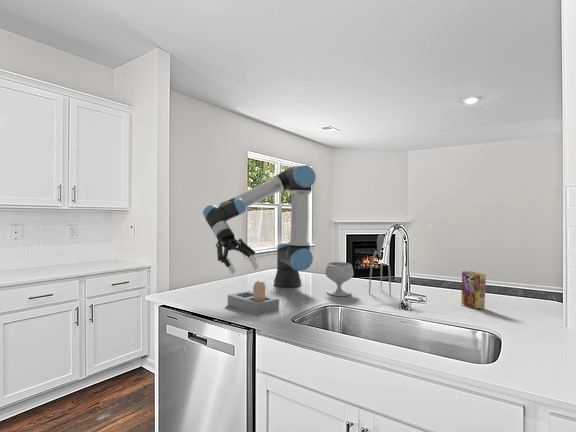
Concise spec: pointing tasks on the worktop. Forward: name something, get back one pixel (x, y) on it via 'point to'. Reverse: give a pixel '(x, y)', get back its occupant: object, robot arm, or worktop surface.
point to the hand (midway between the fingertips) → (245, 269)
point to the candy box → (473, 289)
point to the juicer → (379, 246)
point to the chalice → (339, 276)
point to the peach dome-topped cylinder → (259, 291)
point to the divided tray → (253, 303)
